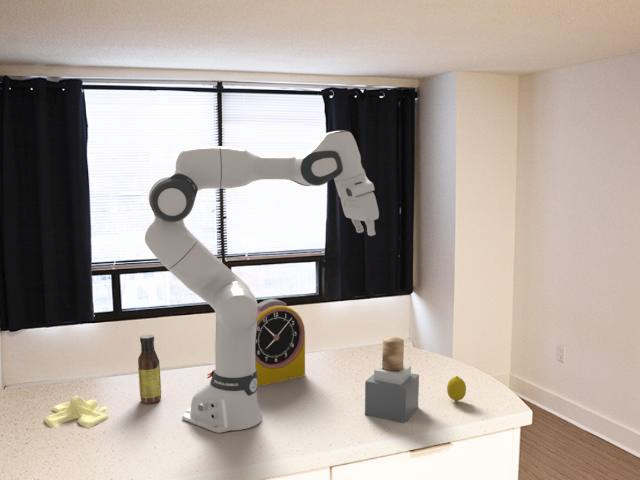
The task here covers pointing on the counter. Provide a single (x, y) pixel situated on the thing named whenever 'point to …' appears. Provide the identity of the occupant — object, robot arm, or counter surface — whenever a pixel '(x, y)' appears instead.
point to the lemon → (456, 388)
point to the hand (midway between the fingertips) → (366, 233)
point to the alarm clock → (278, 343)
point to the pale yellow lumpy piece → (77, 413)
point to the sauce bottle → (149, 371)
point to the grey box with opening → (392, 394)
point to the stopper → (393, 354)
